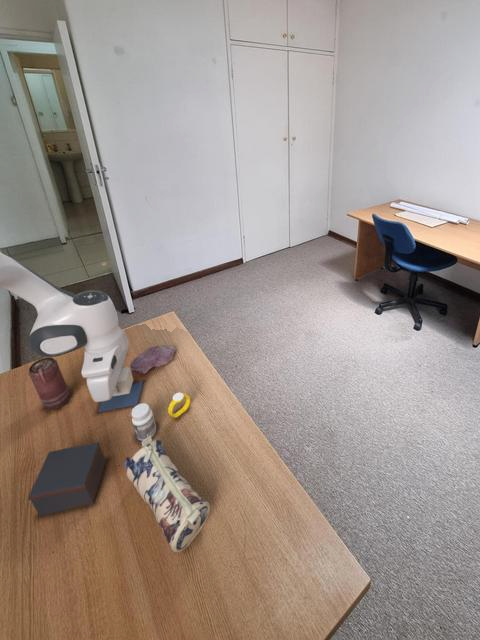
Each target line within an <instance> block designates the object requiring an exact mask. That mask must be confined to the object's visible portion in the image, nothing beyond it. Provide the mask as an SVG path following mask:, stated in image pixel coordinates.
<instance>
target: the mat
mask: <svg viewBox="0 0 480 640" xmlns="http://www.w3.org/2000/svg"><path fill="white" fill-rule="evenodd" d="M143 385H144V381H137V382H132V386H131V389H130V393H129V394H124V395H118V396H112V398H111V399H110V400H107V401H102V402H100V405H99V407H98V410H97V412H98V413H102V412H108V411H113V410H118V409H124V408H129V407H130V408H131V407H135V406H137V405H138V404H139V401H140V397H141V393H142V390H143Z"/></svg>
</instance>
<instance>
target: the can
mask: <svg viewBox="0 0 480 640" xmlns="http://www.w3.org/2000/svg"><path fill="white" fill-rule="evenodd" d="M28 376H29V378H30V380H31V382H32V384H33V386H34V389H35V391H36V393H37V395H38V397H39V400H40V401H41V403H42V405H43V407H44V409H45V410H48V411H55V410H58V409H61V408H62V407H64V406H65V405H66V404H67V403H68V402H69V401H70V398H71V393H70V390H69V388H68V385H67V383H66V380H65V378H64V375H63V373H62V371H61V368H60V365H59V363H58V361H57V360H56V359H55V358H54V357H43V358H40V359H38V360H36V361H34V362H33V363H32V364H31V365H30V366H29V368H28Z"/></svg>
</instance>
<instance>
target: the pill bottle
mask: <svg viewBox="0 0 480 640" xmlns="http://www.w3.org/2000/svg"><path fill="white" fill-rule="evenodd" d="M131 423H132V427H133V429H134V433H135V436H136V439H138V440H139V441H141V442H142V441H144V440H145V439H146V438H148V437H149V436H150V435H151V438H153V436H154V435H155V433H156V432H157V424H156V420H155V417H154V413H153V411H152V409H151V408H150V406H149V404H148V403H145V402H143V403H138V405H135V406H133V408H132V410H131Z"/></svg>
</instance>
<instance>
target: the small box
mask: <svg viewBox="0 0 480 640" xmlns="http://www.w3.org/2000/svg"><path fill="white" fill-rule="evenodd" d="M132 383H134V377H133V373H132V369H131V366H126V367H125V366H124V368H122V369H121V372H120V375H119V378H118V381H117V384H116V387H117V386H118V388H119V392H118V395H124V394H129V393H130V389H131V386H132ZM118 395H116V396H118Z"/></svg>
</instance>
